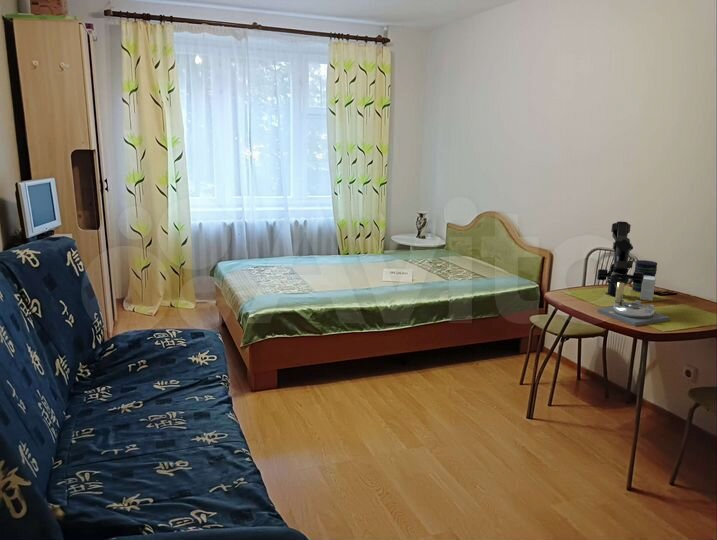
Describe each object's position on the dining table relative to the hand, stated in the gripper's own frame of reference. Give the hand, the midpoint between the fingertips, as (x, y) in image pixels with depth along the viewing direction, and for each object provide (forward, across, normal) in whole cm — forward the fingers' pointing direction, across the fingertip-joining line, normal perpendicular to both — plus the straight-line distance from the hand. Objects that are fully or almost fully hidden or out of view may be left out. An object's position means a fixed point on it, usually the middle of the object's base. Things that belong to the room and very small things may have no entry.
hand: (618, 292), depth 236 cm
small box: (-14, +14, +26) cm, 33 cm away
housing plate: (+10, +6, +2) cm, 12 cm away
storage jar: (-24, +13, +37) cm, 46 cm away
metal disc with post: (+9, +6, +1) cm, 11 cm away
